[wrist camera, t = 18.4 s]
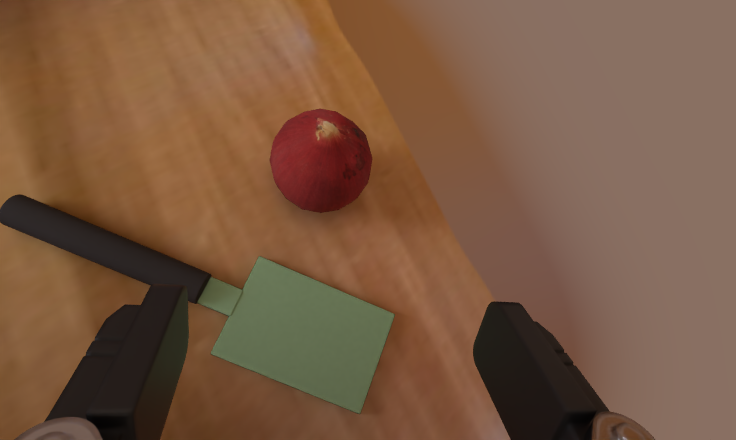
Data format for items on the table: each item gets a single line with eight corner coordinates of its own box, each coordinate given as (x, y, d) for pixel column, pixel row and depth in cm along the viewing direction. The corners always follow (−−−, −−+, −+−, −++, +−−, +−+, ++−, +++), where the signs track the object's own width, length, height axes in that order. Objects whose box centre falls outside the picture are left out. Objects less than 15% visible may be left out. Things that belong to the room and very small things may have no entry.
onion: (346, 140, 30) (372, 68, 22) (368, 217, 28) (403, 168, 21) (262, 153, 28) (259, 80, 20) (281, 235, 27) (286, 189, 19)
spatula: (-15, 262, 23) (-38, 255, 21) (54, 170, 25) (39, 157, 23) (357, 412, 24) (364, 417, 23) (392, 315, 27) (400, 312, 25)
